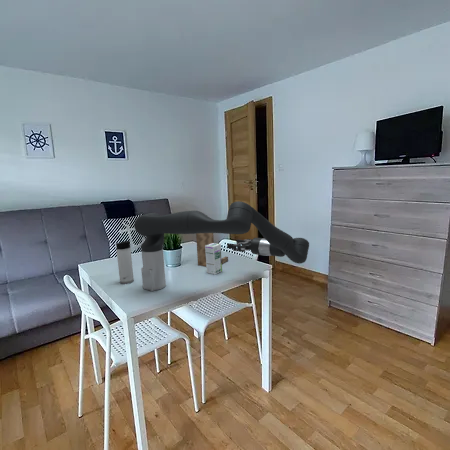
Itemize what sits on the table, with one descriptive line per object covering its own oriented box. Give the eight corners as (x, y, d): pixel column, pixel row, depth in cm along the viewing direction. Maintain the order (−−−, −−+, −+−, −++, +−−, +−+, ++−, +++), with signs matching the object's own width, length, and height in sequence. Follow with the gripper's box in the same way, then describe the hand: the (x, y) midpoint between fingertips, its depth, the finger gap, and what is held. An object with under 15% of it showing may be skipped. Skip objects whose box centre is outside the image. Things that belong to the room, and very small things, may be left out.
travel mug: (126, 285, 129) (122, 243, 126) (117, 282, 133) (112, 241, 129) (137, 280, 135) (133, 240, 131) (128, 278, 138) (124, 239, 135)
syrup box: (215, 274, 138) (213, 246, 136) (206, 272, 142) (204, 245, 140) (222, 271, 143) (221, 243, 140) (213, 269, 146) (212, 242, 144)
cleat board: (214, 268, 148) (212, 235, 145) (197, 265, 154) (196, 233, 151) (228, 261, 160) (226, 230, 157) (212, 258, 166) (211, 228, 163)
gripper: (269, 235, 130) (239, 233, 139) (255, 242, 118) (223, 239, 127) (269, 251, 131) (239, 247, 140) (256, 259, 120) (224, 255, 128)
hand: (232, 243), depth 134 cm, fingers open, 8 cm apart
